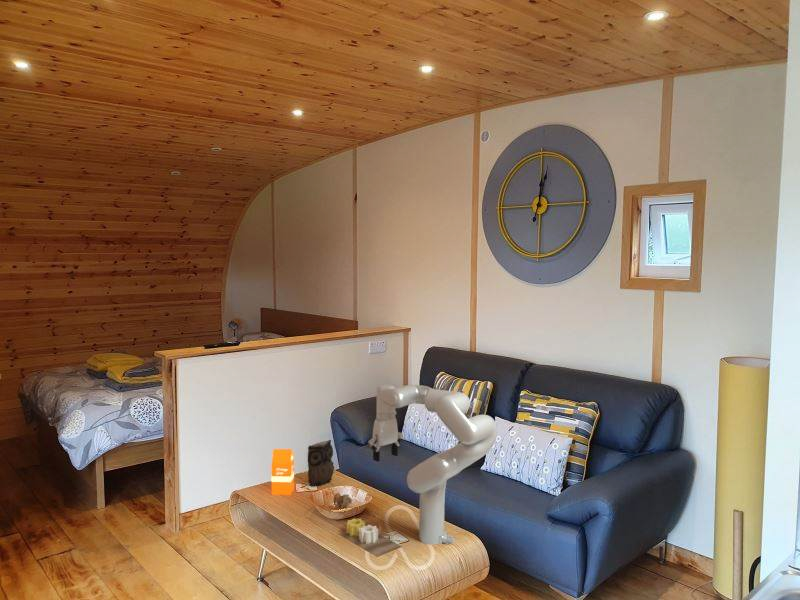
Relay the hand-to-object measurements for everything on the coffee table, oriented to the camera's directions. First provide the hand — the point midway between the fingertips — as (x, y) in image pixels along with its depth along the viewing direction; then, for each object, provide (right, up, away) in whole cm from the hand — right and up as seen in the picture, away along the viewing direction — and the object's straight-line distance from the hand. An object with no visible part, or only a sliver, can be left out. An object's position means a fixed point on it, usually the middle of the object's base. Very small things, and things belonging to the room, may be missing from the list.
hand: (385, 457), depth 246 cm
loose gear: (-6, -28, -13) cm, 31 cm away
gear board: (-6, -29, -13) cm, 32 cm away
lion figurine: (-19, -27, +16) cm, 37 cm away
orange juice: (-48, -25, +37) cm, 66 cm away
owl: (-33, -24, +50) cm, 65 cm away
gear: (-11, -27, -7) cm, 30 cm away
